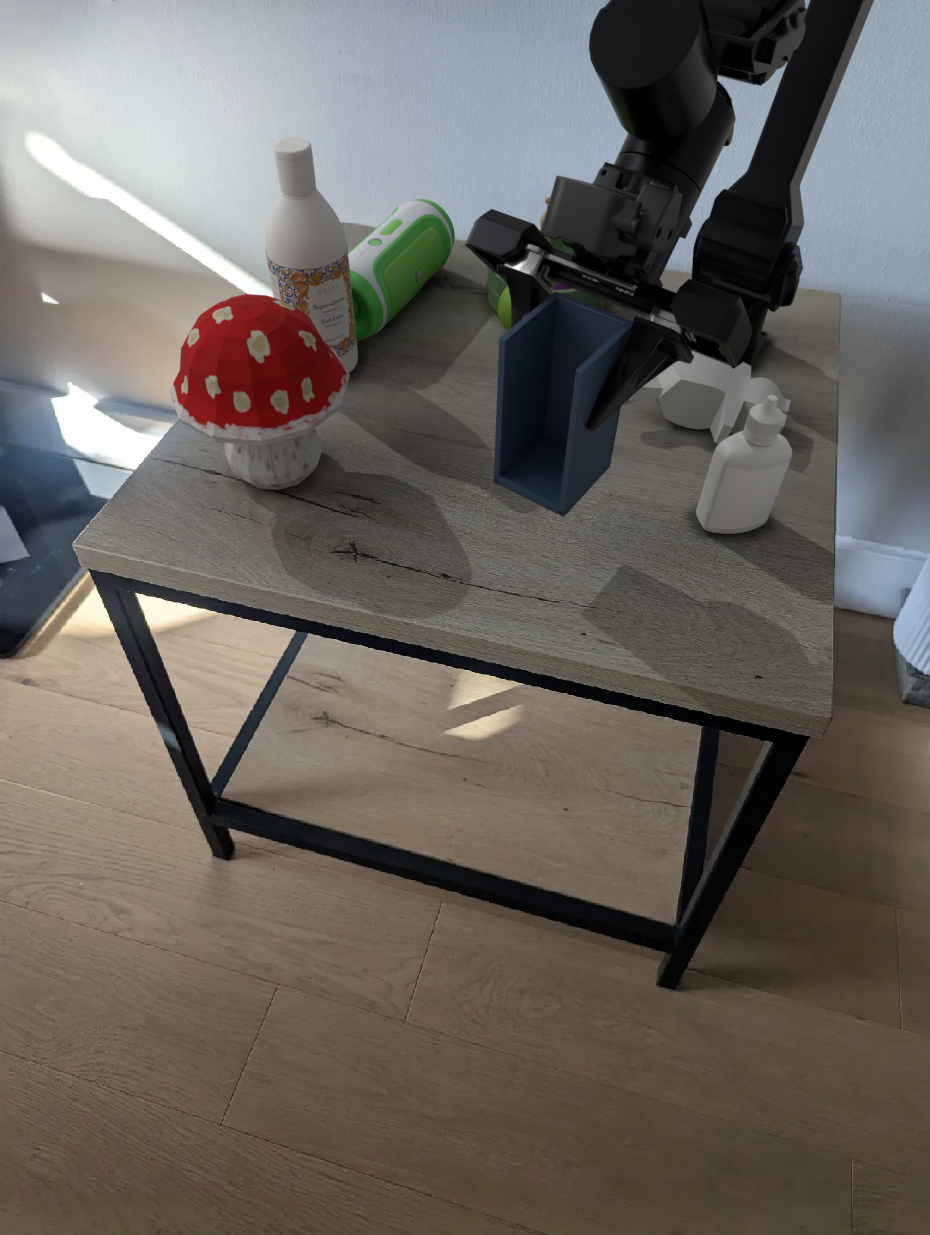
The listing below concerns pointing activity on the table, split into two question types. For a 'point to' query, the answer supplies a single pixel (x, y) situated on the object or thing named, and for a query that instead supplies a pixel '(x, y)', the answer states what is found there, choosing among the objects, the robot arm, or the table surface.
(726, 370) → the bunny figurine
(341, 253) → the bath foam
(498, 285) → the bowl
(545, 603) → the table surface
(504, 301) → the snail figurine
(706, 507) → the eye dropper bottle
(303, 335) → the decorative mushroom
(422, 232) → the speaker
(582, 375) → the dark blue rectangular box
